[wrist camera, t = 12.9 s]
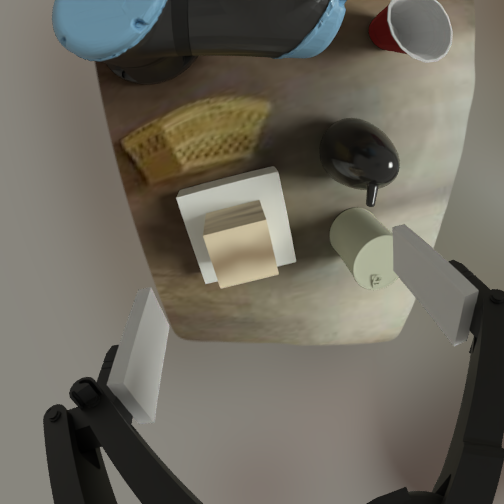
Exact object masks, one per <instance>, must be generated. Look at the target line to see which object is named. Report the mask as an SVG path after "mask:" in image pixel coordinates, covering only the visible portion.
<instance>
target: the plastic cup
mask: <svg viewBox="0 0 504 504" xmlns="http://www.w3.org/2000/svg"><path fill="white" fill-rule="evenodd" d="M452 33H453V31H452V27H451V23H450V20H449V17H448V15H447V13H446V12H445V10H444V9H443V7H442V5H441V4H440V3H439V2H438V1H436V0H391V2H390V3H389V5H388V6H387V7H386V8H385V9H384V10H382V11H381V12H380V13H379V14H378V15H377V16H376V18H374V19H373V20H372V22H371V24H370V26H369V36H370V38H371V40H372V41H373V43H374V44H375V45H376V46H378V47H379V48H381V49H384V50H388V51H394V52H399V53H405V54H408V55H410V56H411V57H412V58H414V59H417V60H420V61H423V62H426V63H427V62H435V61H439V60H440V59H441V58H443V57H444V56H445V55H447V53H448V51H449V49H450V47H451V45H452Z"/></svg>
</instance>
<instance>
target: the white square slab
mask: <svg viewBox="0 0 504 504" xmlns="http://www.w3.org/2000/svg"><path fill="white" fill-rule="evenodd" d="M176 199H177V202H178V205H179V208H180V211H181V214H182V217H183V220H184V223H185V226H186V229H187V232H188V235H189V238H190V241H191V244H192V247H193V250H194V253H195V255H196V258H197V261H198V264H199V267H200V270H201V272H202V275H203V278H204V281H205V283H206V284H208V283H212V282H216V281H218V280H217V277H216V274H215V271H214V268H213V265H212V262H211V259H210V256H209V253H208V250H207V247H206V244H205V241H204V238H203V231H204V224H205V216H206V213H210V212H213V211H217V210H221V209H225V208H229V207H233V206H237V205H241V204H244V203H248V202H252V201H257V200H260V203H261V206H262V209H263V212H264V214H265V217H266V220H267V225H268V229H269V233H270V238H271V242H272V246H273V251H274V255H275V260H276V264H277V267H278V266H282V265H286V264H290V263H294V262H296V257H295V252H294V247H293V242H292V236H291V231H290V226H289V221H288V216H287V211H286V206H285V202H284V197H283V192H282V187H281V182H280V178H279V173H278V171H277V169H276V168H275V167H274V166H271V167H267V168H263V169H259V170H254V171H250V172H246V173H242V174H238V175H234V176H230V177H226V178H223V179H219V180H215V181H211V182H207V183H204V184H200V185H196V186H193V187H189V188H186V189H182V190H179V193H178V195H177V197H176Z"/></svg>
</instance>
